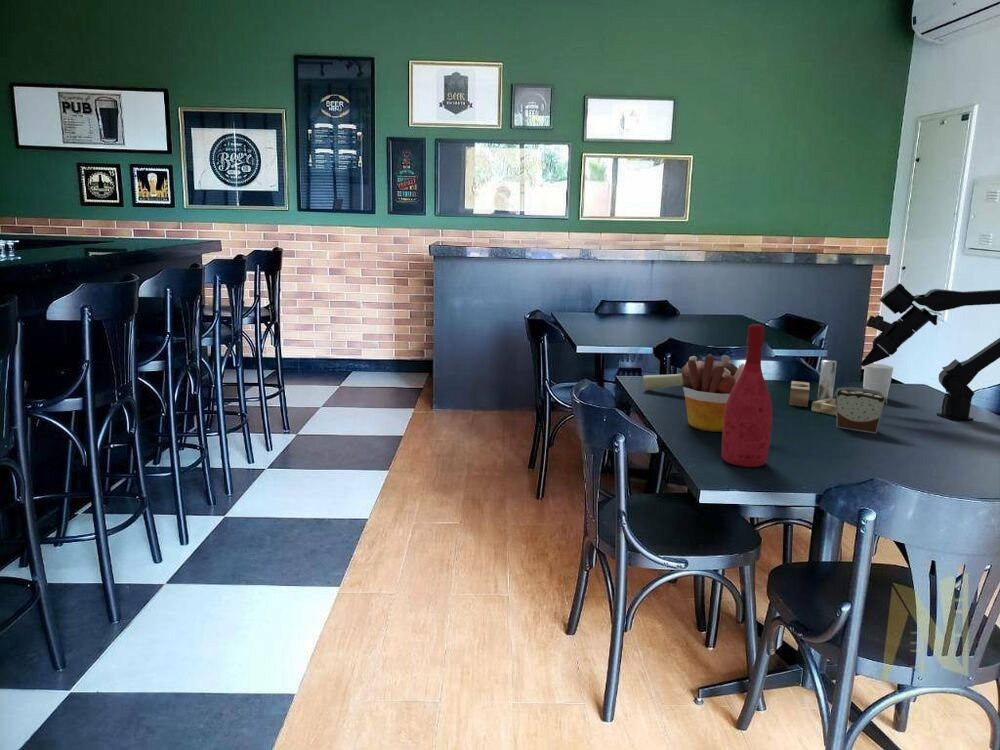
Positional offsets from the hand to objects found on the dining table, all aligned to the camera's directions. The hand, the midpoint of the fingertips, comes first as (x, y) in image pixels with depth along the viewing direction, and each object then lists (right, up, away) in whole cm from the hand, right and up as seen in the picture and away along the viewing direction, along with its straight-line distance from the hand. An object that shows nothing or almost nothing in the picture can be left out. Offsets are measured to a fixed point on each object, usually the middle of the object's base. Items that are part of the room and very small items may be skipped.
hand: (862, 364), depth 210 cm
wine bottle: (-51, -22, -51) cm, 76 cm away
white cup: (+12, -10, +17) cm, 23 cm away
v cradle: (-12, -13, -3) cm, 18 cm away
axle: (-9, -12, +5) cm, 15 cm away
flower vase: (-44, -10, +10) cm, 46 cm away
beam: (-15, -11, +8) cm, 20 cm away
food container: (-11, -17, -20) cm, 29 cm away
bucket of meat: (-50, -17, -23) cm, 58 cm away
